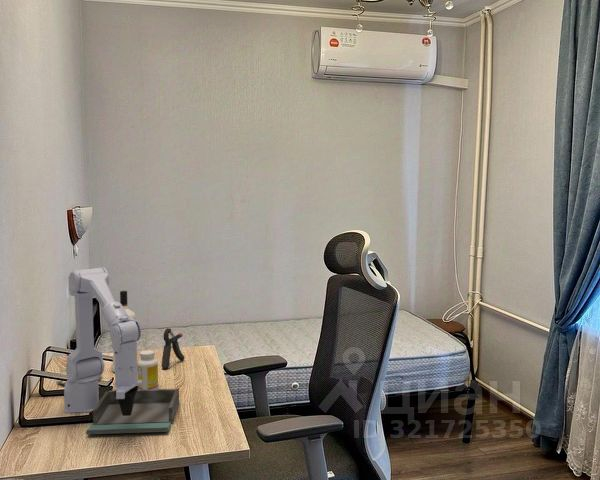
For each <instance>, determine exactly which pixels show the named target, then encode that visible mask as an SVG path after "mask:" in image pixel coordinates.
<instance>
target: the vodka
mask: <svg viewBox="0 0 600 480" xmlns="http://www.w3.org/2000/svg"><path fill="white" fill-rule="evenodd" d="M119 302H120V303H121V304H122V306H123V308H124V309H125V311H126V313H127V314H128V316H129V318H133V319H134V320H137V315H136V313H135V312H134V311H133V310H131V309H129V306H128V291H127V290H120V291H119ZM112 350H113V349H112ZM112 354H113V355H112V365H111V370H112V372H113V373H115V351H114V350H113V353H112Z"/></svg>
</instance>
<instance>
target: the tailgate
mask: <svg viewBox="0 0 600 480" xmlns="http://www.w3.org/2000/svg"><path fill="white" fill-rule="evenodd" d="M171 427H172V424H171V423H144V424H113V425H93V424H92V425H91V426H90V427H89V428H87V429H86V430H85V432H86V433H85V434H86V435H101V434H103V435H106V434H127V433H128V434H132V433H133V434H134V433H136V434H138V433H159V432H160V433H162V432H164V433H165V432H169V430H170V429H171Z"/></svg>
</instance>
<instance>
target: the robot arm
mask: <svg viewBox="0 0 600 480" xmlns="http://www.w3.org/2000/svg"><path fill="white" fill-rule="evenodd" d="M109 284H110V275H109V271H108V270H107V268H106V267H104V266H100V267H95V268H87V269H86V268H84V269H73V270H71V272H70V274H69V275H68V290H69V296H72V297H74V310H75V311H74V312H75V313H74V314H75V337H76V339H75V340H76V342H75V343H76V348H75V349H74V350H73V351H72V352H70V353H69V354H68V355H67V358H66V365H65V372H66V374H67V377H68V379H69V380H67V381H66V384H64V388H63V395H64V396H63V397H64V398H63V399H64V401H63V402H64V410H63V413H65V414H66V413H67V414H68V413H70V414H71V413H93V412H92V411H93V409H94V408H95V406H96V405H97V403H98V402H99V401H100V396H99V395H100V394H99V389H100V388H99V380H100V379H101V377H100V375H102V376H103V373H104V371H105V362H104V359H103V353H102V352H101V350H99V349H98V348H96V347H95V342H94V341H95V337H94V335H95V334H94V311H93V308H94V307H93V297H94V298H95V299H96V300H97V301H98V303H99V304H100V306H101V308H102V310H101V315H102V317H103V318H104V321H105V322H106V324H107V326H108V327H109V330H110V331H109V336H110V341H111V344H112V350H114V351H115V372H114V379H115V380H114V390H115V392H114V395H115V397H116V399H117V400H118V402H119V404H120V408H121V412H122V415H123V416H130V415H131V413H132V409H133V404H134V399H135V395H136V392H137V390H138V388H139V387H138V385H141V384H142V380H138V373H137V362H138V342H139V340H140V339H141V337H142V329H141V326H140V323H139V321H138V320H137V319H136V320H134V319H133V318H129V316H128V314H127V313H126V311H125V309H124V308H123V306H122V304H121V303H120V301H116V299H115V298H114V296H113V293H112V291H111V289H110V286H109ZM99 378H100V379H99ZM98 379H99V380H98Z"/></svg>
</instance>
